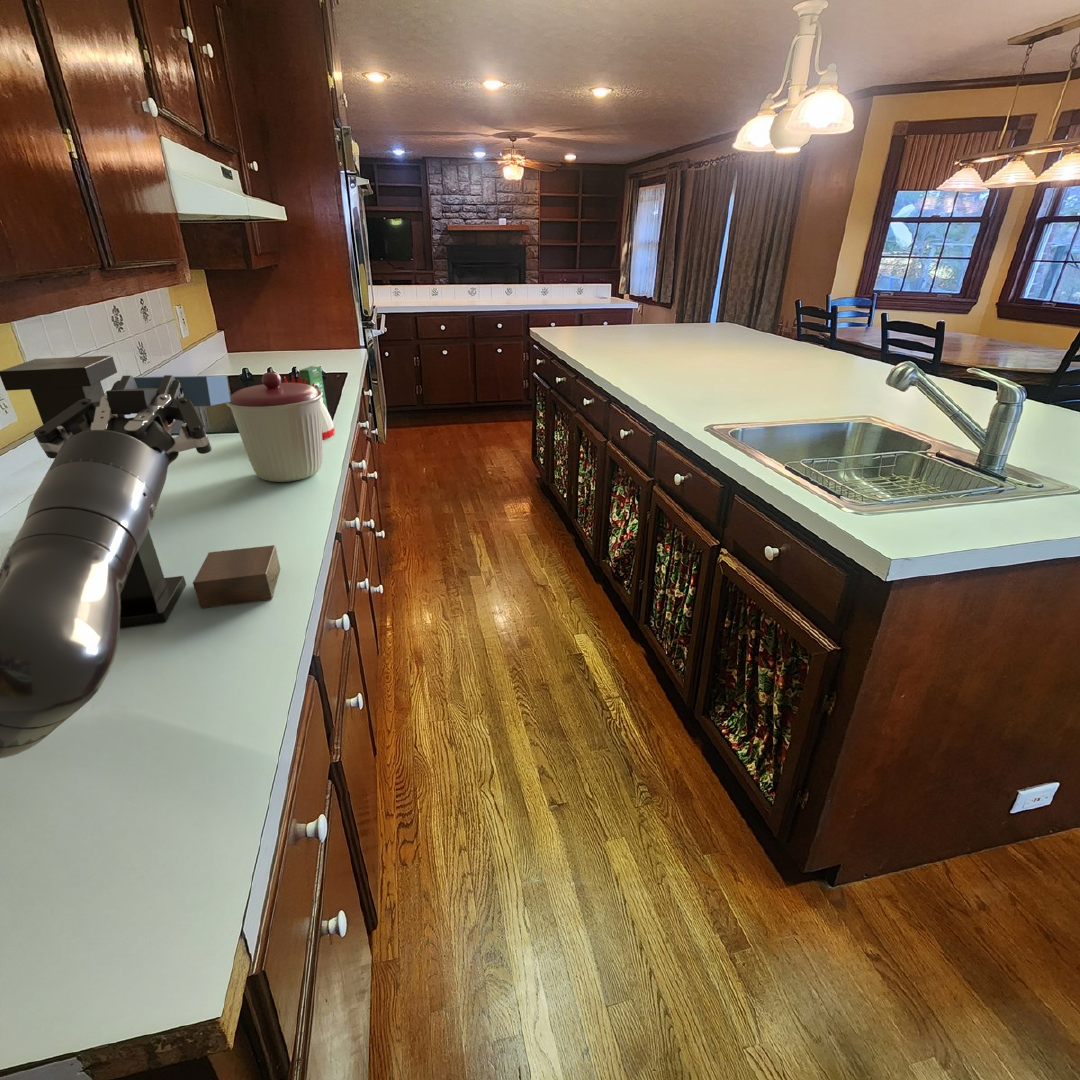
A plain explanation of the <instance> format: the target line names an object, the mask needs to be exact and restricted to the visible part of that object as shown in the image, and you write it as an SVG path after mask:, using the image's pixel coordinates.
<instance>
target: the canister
mask: <svg viewBox="0 0 1080 1080" xmlns="http://www.w3.org/2000/svg"><path fill="white" fill-rule="evenodd" d="M261 382H262V384H255V385H252V386H248V387H244V388H241V389H239V390H236V391H235V392H233V393H232V394H230V402H228V403H225V405H226V406H227V407H229V408H230V411H231V414H232V417H233V419H234V422H235V425H236V428H237V430H238V433H239V436H240V439H241V441H242V445H243V447H244V449H245V452H246V455H247V457H248V460H249V462H250V465H251V467H252V470H253V471H254V473H255V474H256V475H257V476H258V477H259V478H260V479H262V480H264V481H267V482H275V483H278V482H279V483H286V482H287V483H288V482H295V481H299V480H301V481H302V480H305V479H308V478H310V477H313V476H314V475H316V474H317V473H318V472H319V471H320V470H321V468H322V466H323V461H324V449H323V448H324V447H323V443H324V442H323V440H322V423H321V406H320V398H321V397H322V395H323V393H322V391H320V390H318V389H315V388H314V387H312V386H310V385H307V384H301V383H298V382H295V383H292V382H288V383H285V382H282V377H281V375H280V374H279V373H277V372H274V371H273V372H272V371H269V372H266V373H264V374H263V375H262V377H261Z"/></svg>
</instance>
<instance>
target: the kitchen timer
mask: <svg viewBox="0 0 1080 1080" xmlns="http://www.w3.org/2000/svg"><path fill="white" fill-rule="evenodd" d="M283 379H284V381H283V383H289V381H288V380H287V377H286V376H283ZM307 382H308V380H307V379H306V380H305V382H304V384H307ZM291 383H296V380H295V378H294V375H293V374H292V375H291ZM297 383H301V384H303V383H302V381H301V378H300V374H298V375H297ZM312 387H314V383H313V385H312ZM320 406H321V423H322V441H324V440H326V439H329V438H331V437H333V436H335V434H336V430H335V424H334V421H333V418H332V416H331V414H330V412H329V410H328V407H327V408H326V407H325V405H324V404H323V402H322V401H321V400H320Z"/></svg>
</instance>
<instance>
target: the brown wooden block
mask: <svg viewBox="0 0 1080 1080" xmlns="http://www.w3.org/2000/svg"><path fill="white" fill-rule="evenodd" d="M277 552H278V551H277V547H276V545H275V544H273V545H263V546H254V547H246V548H236V549H227V550H219V551H209V552H208V553H207V555H206V556H205V558H204V561H203V563H202V565H201V566H200V568H199V570H198V572H197V574H196V576H195V577H194V580H193V581H192V586H193V588H194V592H195V595H196V598H197V601H198V605H199V608H200V609H205V608H207V609H208V608H214V607H215V608H216V607H222V606H229V605H230V606H231V605H238V604H246V603H255V602H261V601H262V602H263V601H270V600H273V596H274V593H275V589H276V586H277V583H278V578H279V576H280V571H281V565H280V561H279V556H278V553H277Z"/></svg>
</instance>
